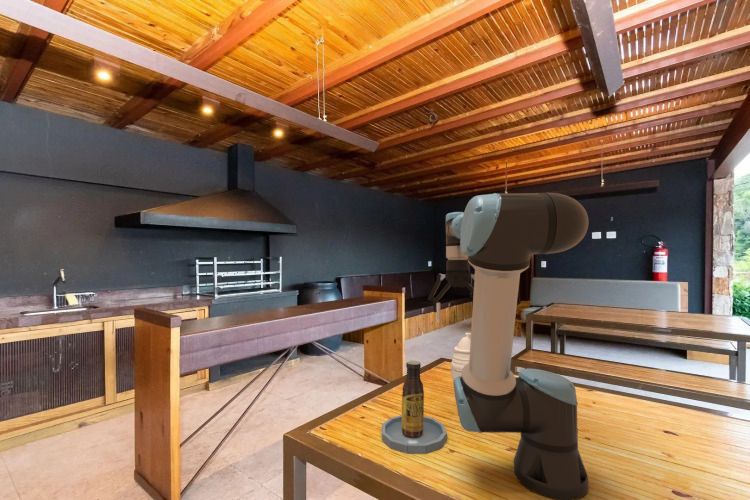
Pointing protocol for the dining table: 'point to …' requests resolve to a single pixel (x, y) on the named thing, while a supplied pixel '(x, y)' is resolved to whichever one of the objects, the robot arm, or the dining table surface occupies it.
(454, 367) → the honey pot
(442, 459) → the dining table surface
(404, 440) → the serving plate
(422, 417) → the sauce bottle
